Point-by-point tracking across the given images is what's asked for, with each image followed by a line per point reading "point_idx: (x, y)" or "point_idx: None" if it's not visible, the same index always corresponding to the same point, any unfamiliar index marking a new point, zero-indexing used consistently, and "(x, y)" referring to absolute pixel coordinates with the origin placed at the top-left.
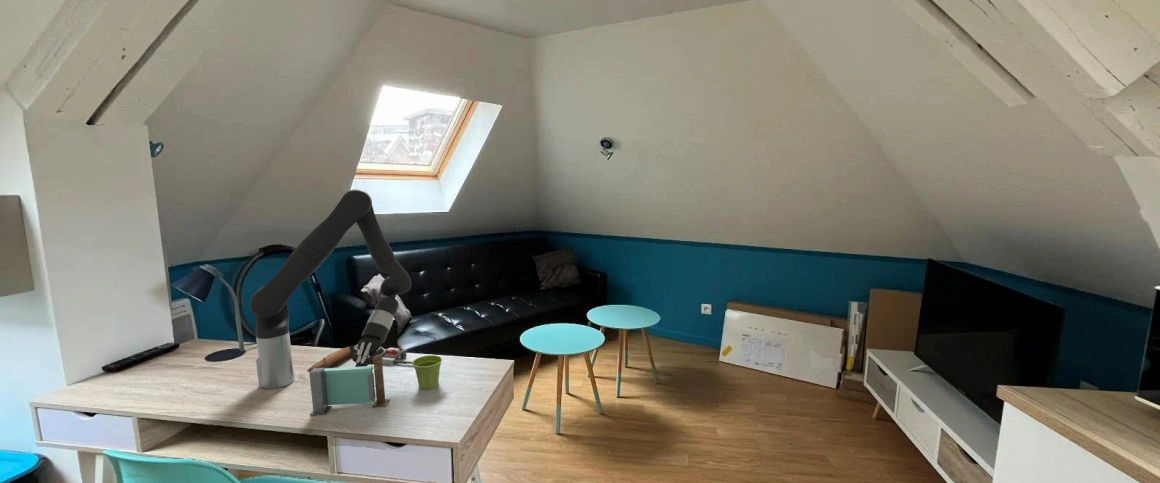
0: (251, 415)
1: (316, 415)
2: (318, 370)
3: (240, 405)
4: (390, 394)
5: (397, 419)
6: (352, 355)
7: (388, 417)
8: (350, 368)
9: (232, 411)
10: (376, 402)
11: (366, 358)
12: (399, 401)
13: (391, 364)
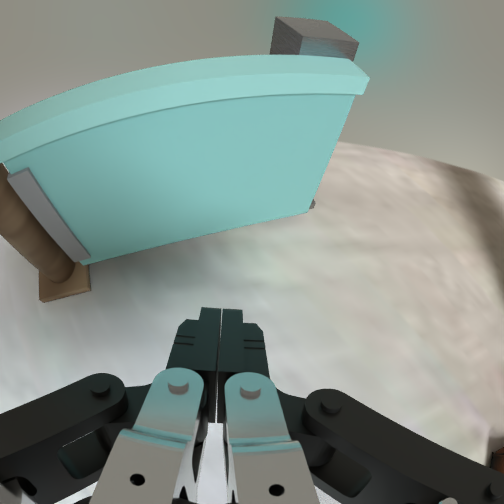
0: (438, 170)
1: None
2: (302, 24)
3: (496, 212)
4: (62, 362)
5: None
6: (389, 432)
7: None
8: (129, 81)
9: (482, 187)
10: (77, 264)
11: (140, 426)
12: (13, 300)
13: None
